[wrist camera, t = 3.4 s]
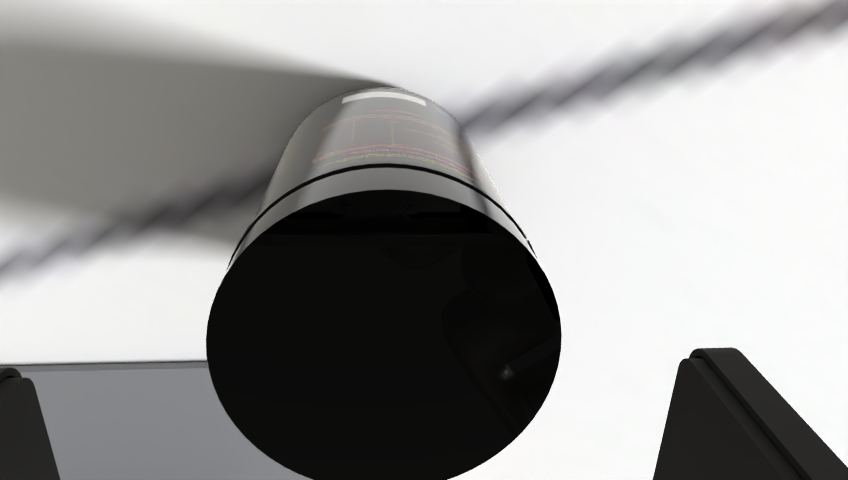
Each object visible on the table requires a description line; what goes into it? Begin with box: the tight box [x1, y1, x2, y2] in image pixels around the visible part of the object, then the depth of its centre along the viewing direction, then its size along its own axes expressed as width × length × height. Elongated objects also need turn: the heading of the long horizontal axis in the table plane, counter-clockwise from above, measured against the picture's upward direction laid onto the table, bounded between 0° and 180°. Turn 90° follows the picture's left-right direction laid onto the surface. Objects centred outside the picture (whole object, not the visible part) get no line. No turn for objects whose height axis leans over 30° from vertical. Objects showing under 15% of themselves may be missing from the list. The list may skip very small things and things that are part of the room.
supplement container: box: [206, 87, 561, 480], centre depth 17 cm, size 7×7×10 cm
